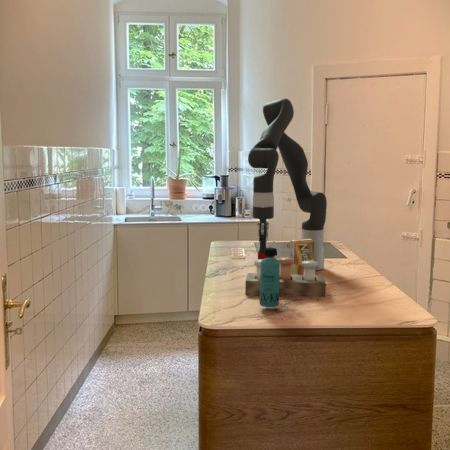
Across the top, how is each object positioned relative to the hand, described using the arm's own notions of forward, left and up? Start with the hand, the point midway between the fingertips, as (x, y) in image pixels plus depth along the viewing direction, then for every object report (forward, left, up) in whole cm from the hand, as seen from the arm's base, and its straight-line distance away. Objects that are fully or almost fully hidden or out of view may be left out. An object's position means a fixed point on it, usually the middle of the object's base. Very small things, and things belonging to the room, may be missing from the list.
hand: (262, 252), depth 193 cm
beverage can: (-15, -15, -14) cm, 26 cm away
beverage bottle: (+13, +19, -14) cm, 27 cm away
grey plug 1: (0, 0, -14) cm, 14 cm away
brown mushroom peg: (-6, +6, -13) cm, 15 cm away
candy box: (-26, -6, -14) cm, 30 cm away
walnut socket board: (-6, +6, -14) cm, 16 cm away
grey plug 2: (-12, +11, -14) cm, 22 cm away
